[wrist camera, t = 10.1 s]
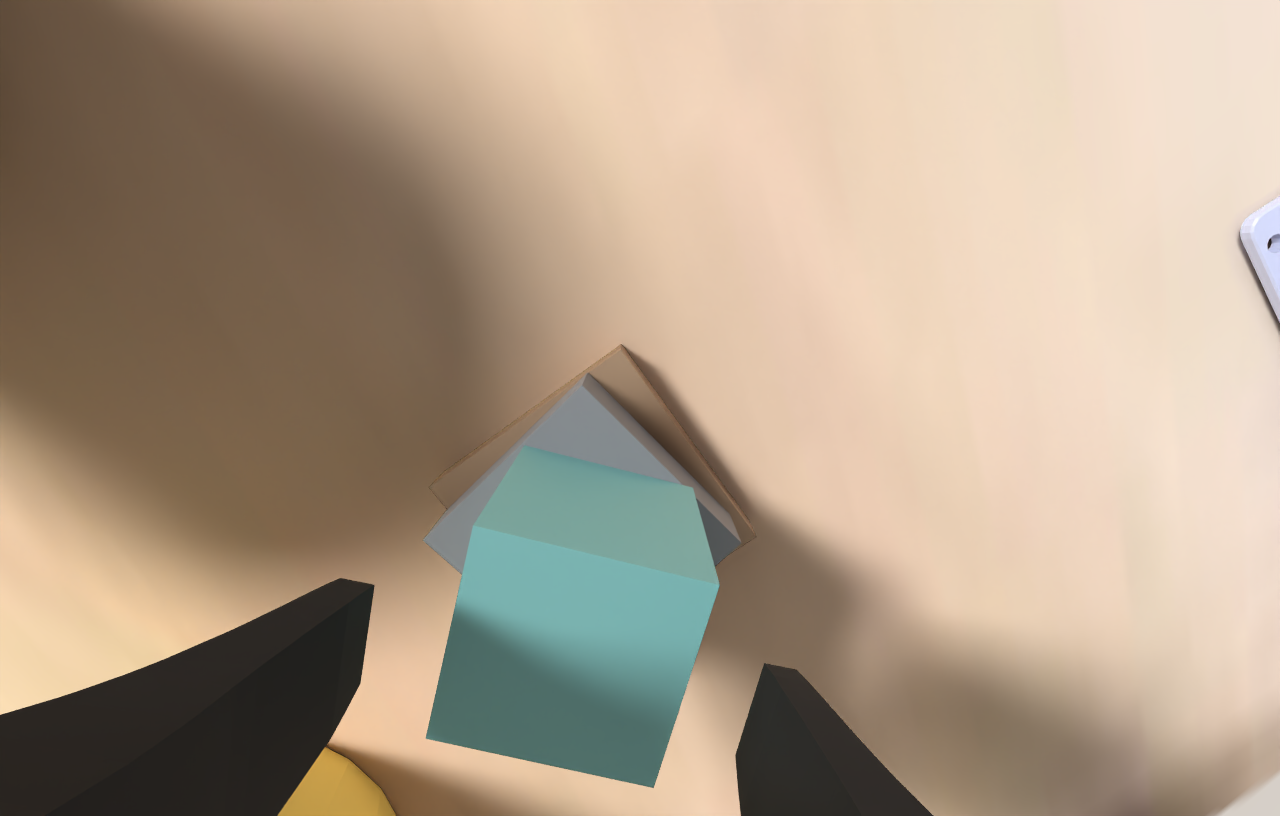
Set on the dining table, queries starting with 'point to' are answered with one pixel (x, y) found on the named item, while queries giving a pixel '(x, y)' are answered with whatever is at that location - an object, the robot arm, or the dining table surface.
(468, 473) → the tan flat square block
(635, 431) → the grey slab
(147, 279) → the dining table surface
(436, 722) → the teal block
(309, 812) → the vase
